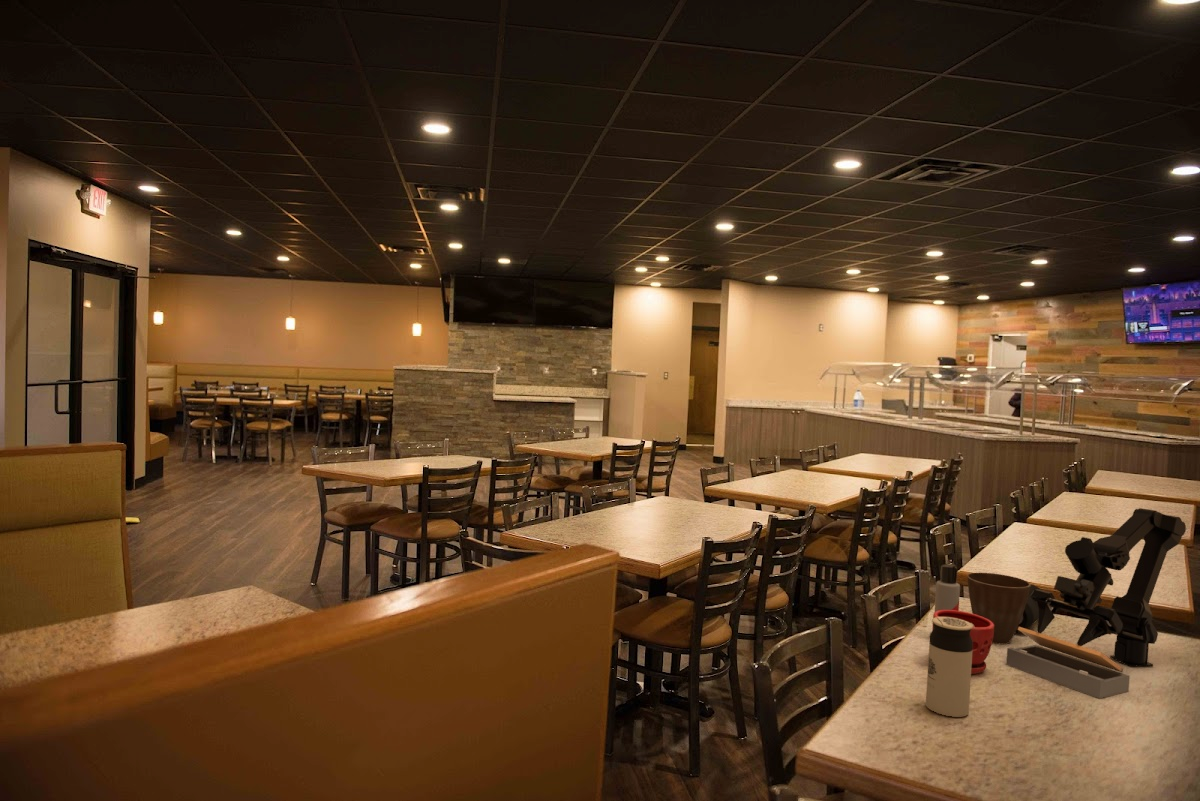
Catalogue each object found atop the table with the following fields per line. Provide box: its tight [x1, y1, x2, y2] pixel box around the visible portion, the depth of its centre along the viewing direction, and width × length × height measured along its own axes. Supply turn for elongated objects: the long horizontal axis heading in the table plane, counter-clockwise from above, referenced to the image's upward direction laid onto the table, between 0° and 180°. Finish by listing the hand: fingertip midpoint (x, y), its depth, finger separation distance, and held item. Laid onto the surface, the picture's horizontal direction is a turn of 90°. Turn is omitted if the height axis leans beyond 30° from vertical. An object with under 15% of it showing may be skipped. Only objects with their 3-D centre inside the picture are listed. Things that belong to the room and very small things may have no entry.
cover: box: [1018, 627, 1124, 673], centre depth 180 cm, size 10×19×1 cm, turn 28°
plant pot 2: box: [967, 572, 1032, 645], centre depth 206 cm, size 15×15×16 cm
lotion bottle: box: [933, 563, 961, 614], centre depth 203 cm, size 6×6×20 cm
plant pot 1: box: [931, 610, 994, 675], centre depth 183 cm, size 13×13×12 cm
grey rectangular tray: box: [1005, 644, 1131, 699], centre depth 180 cm, size 11×22×5 cm, turn 28°
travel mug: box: [925, 617, 974, 718], centre depth 158 cm, size 8×8×18 cm
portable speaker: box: [1015, 583, 1042, 634], centre depth 222 cm, size 26×10×10 cm, turn 140°
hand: (1058, 638), depth 178 cm, fingers open, 9 cm apart
